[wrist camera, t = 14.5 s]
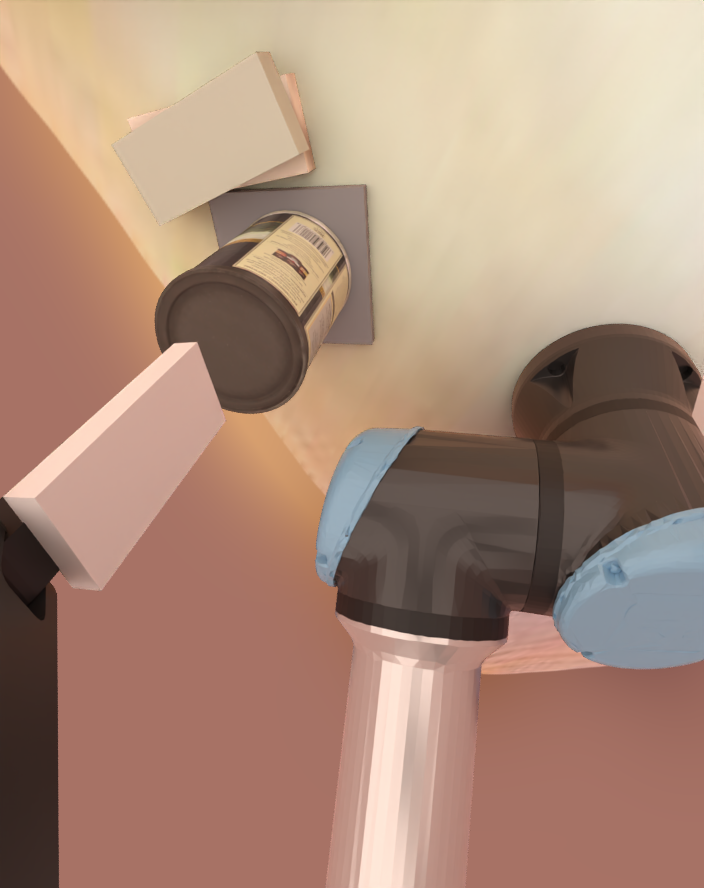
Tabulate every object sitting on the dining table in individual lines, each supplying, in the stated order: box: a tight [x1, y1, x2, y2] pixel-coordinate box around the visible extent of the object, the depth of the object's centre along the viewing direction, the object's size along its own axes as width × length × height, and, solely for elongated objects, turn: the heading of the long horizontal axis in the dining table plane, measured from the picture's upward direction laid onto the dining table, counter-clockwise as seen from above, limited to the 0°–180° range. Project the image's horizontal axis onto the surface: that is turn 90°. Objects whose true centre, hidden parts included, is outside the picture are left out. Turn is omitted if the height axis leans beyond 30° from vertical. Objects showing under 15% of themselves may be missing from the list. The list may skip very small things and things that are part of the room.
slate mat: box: [209, 185, 374, 345], centre depth 43 cm, size 13×13×1 cm
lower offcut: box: [127, 73, 315, 189], centre depth 38 cm, size 6×13×2 cm, turn 102°
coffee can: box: [155, 210, 351, 414], centre depth 37 cm, size 10×10×14 cm
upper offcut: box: [112, 52, 309, 226], centre depth 36 cm, size 6×13×2 cm, turn 114°
